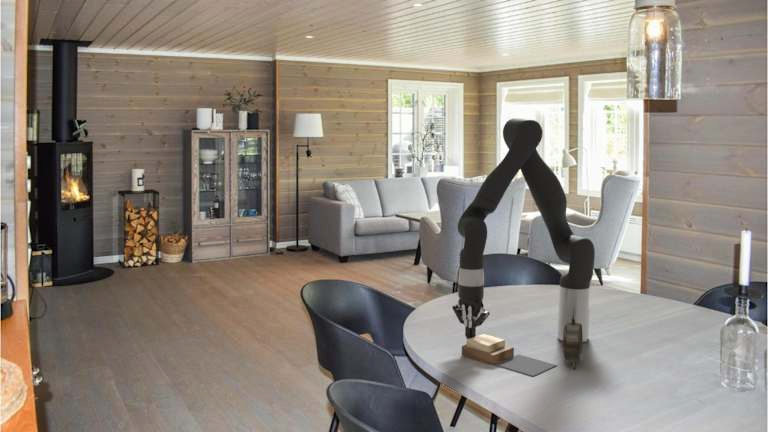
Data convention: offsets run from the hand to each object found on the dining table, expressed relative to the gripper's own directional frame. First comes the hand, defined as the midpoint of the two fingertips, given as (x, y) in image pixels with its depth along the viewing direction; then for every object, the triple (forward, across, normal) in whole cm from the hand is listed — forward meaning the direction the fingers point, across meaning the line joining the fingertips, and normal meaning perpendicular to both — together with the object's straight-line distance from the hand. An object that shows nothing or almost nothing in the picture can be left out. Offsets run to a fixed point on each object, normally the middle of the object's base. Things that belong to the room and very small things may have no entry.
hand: (470, 338), depth 211 cm
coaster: (+1, -6, 0) cm, 6 cm away
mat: (+4, -19, -2) cm, 19 cm away
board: (+4, -7, 0) cm, 8 cm away
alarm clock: (+4, -27, -12) cm, 30 cm away
